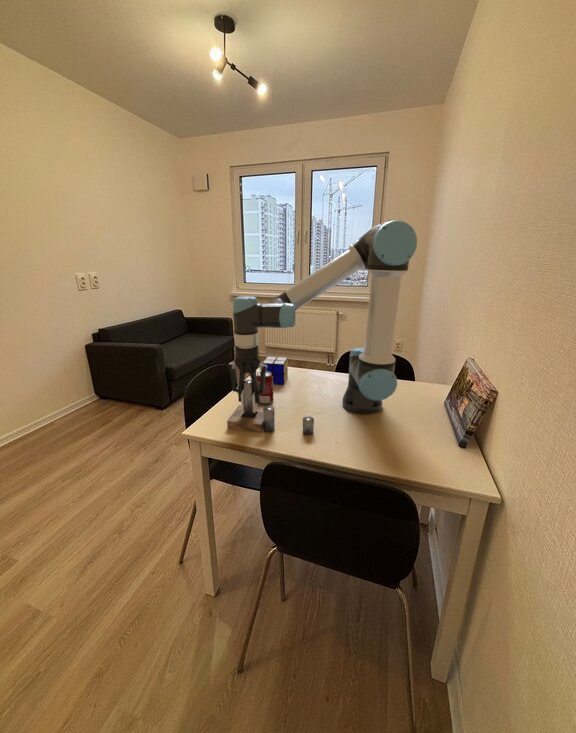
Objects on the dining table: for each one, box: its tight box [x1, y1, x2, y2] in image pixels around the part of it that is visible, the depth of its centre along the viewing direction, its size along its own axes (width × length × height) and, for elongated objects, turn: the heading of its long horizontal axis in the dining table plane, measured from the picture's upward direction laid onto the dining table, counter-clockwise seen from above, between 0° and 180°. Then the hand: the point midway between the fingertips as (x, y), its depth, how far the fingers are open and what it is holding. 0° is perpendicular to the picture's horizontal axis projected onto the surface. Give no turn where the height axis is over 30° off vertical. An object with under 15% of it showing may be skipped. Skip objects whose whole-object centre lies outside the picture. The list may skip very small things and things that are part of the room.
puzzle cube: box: [262, 356, 289, 386], centre depth 149 cm, size 10×10×10 cm
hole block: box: [226, 404, 264, 433], centre depth 113 cm, size 12×12×3 cm
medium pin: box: [263, 405, 276, 434], centre depth 107 cm, size 4×4×8 cm
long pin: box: [243, 379, 255, 418], centre depth 111 cm, size 4×4×14 cm
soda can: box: [256, 371, 274, 405], centre depth 127 cm, size 7×7×12 cm
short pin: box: [302, 416, 315, 436], centre depth 106 cm, size 4×4×5 cm
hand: (249, 410), depth 112 cm, fingers closed on long pin, 3 cm apart
